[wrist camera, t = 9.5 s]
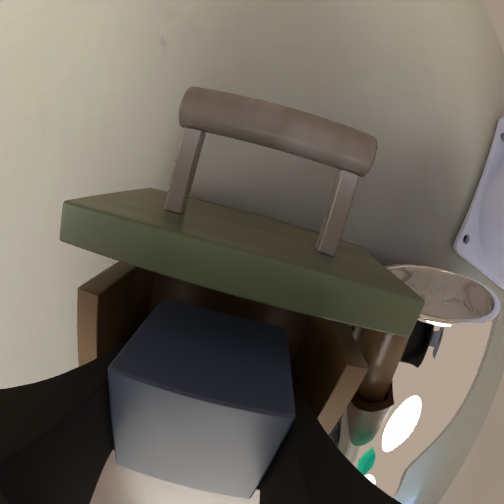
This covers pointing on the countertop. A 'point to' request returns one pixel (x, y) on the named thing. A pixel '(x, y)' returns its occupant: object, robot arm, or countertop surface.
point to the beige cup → (417, 374)
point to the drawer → (244, 253)
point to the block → (201, 398)
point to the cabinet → (153, 489)
